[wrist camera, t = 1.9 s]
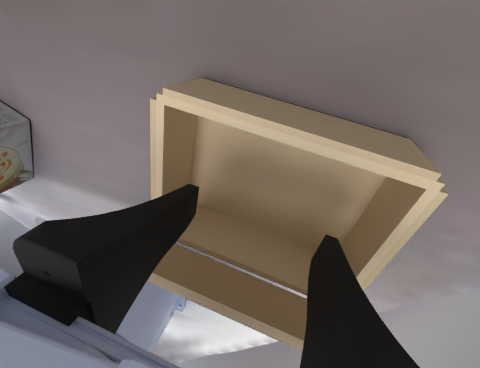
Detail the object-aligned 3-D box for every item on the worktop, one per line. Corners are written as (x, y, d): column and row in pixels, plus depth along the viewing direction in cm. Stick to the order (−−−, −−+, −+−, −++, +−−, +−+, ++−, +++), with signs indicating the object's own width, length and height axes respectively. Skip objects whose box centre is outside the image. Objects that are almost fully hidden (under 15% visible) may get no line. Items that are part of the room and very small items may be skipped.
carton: (342, 259, 21) (345, 311, 17) (182, 197, 23) (151, 230, 19) (423, 142, 15) (460, 179, 10) (193, 74, 17) (150, 83, 13)
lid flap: (332, 309, 17) (330, 316, 17) (159, 237, 19) (157, 242, 19) (365, 368, 11) (361, 378, 11) (108, 253, 13) (105, 261, 13)
